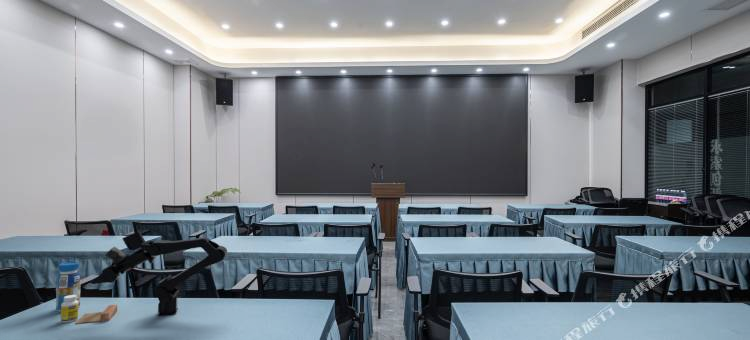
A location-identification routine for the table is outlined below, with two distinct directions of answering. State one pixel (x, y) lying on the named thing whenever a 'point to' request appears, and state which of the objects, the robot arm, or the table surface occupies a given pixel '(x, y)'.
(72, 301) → the supplement bottle
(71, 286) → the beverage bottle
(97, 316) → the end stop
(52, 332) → the table surface
